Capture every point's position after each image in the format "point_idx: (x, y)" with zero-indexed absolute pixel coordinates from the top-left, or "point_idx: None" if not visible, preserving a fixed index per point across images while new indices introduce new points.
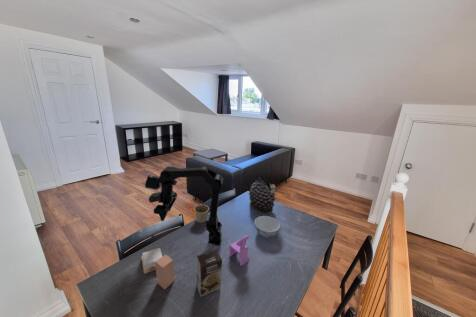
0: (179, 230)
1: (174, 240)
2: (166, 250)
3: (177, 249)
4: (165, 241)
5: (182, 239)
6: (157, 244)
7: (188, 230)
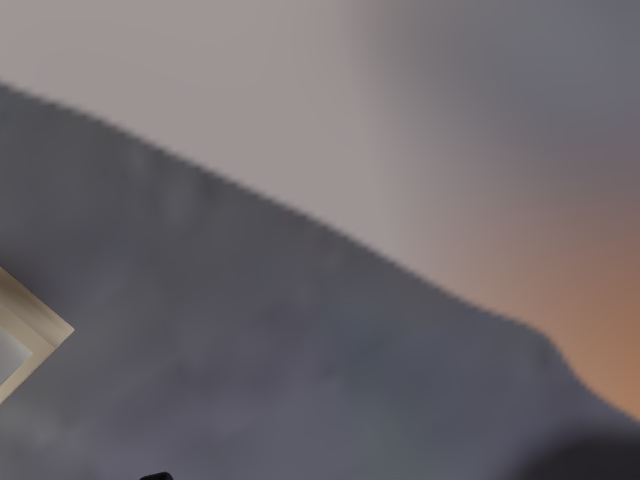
0: (510, 325)
1: (321, 362)
2: (139, 364)
3: (198, 468)
4: (270, 268)
5: (365, 439)
6: (188, 203)
7: (536, 427)
